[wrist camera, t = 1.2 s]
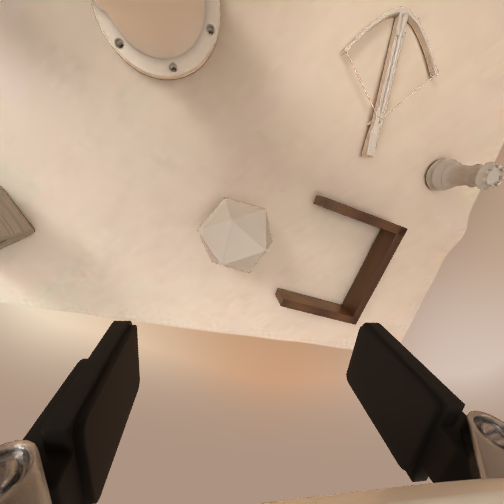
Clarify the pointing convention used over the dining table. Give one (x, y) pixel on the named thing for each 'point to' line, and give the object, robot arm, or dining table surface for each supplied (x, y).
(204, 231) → the die
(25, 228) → the cosmetic box
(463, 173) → the rook chess piece
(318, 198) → the bay
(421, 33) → the crossbow
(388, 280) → the dining table surface
